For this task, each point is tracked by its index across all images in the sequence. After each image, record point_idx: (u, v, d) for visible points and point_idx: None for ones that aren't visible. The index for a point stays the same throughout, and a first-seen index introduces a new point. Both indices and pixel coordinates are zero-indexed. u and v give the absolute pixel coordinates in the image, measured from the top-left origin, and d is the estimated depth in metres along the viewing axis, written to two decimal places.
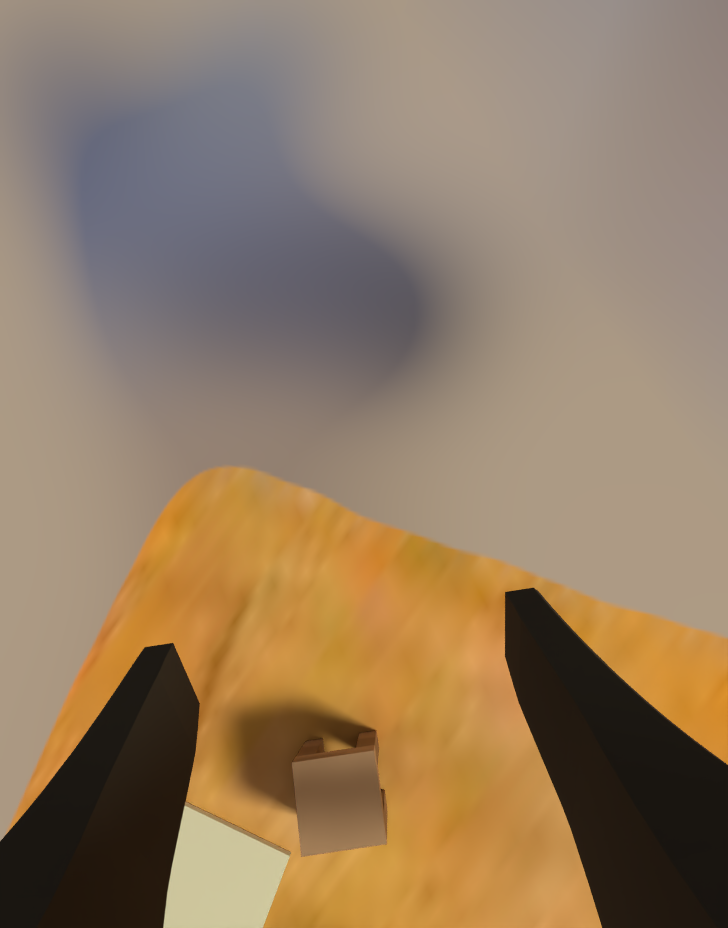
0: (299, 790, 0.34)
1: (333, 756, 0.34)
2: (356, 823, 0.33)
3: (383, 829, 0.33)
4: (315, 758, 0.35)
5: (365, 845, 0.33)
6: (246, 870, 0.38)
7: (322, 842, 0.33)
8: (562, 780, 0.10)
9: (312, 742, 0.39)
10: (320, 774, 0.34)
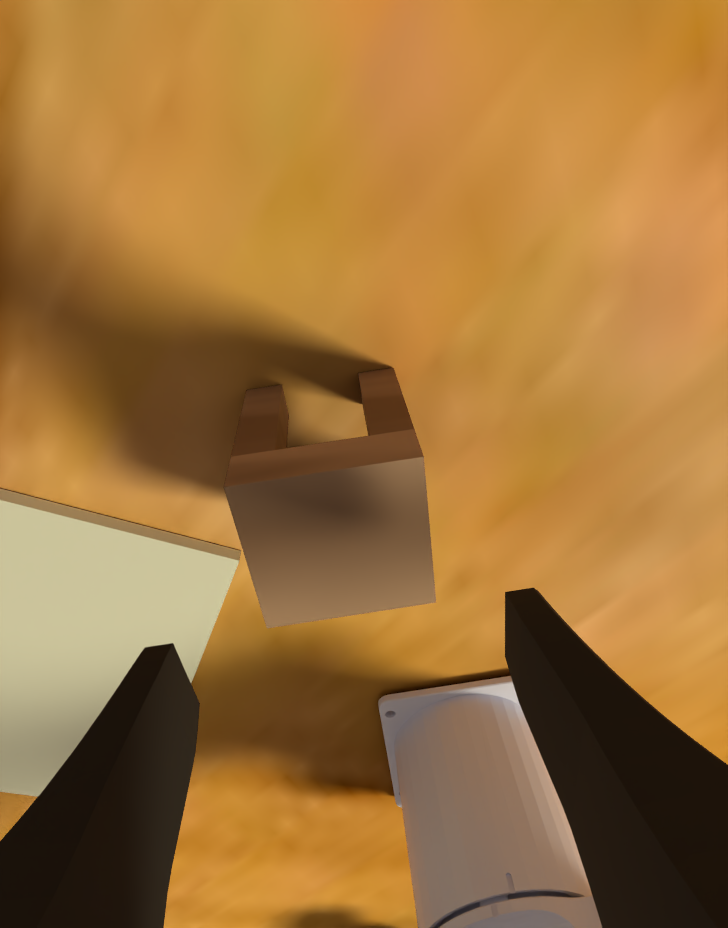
0: (249, 534, 0.15)
1: (324, 470, 0.14)
2: (378, 577, 0.16)
3: (431, 583, 0.16)
4: (279, 471, 0.14)
5: (394, 606, 0.17)
6: (168, 580, 0.22)
7: (307, 607, 0.16)
8: (562, 780, 0.10)
9: (261, 398, 0.18)
10: (296, 505, 0.15)
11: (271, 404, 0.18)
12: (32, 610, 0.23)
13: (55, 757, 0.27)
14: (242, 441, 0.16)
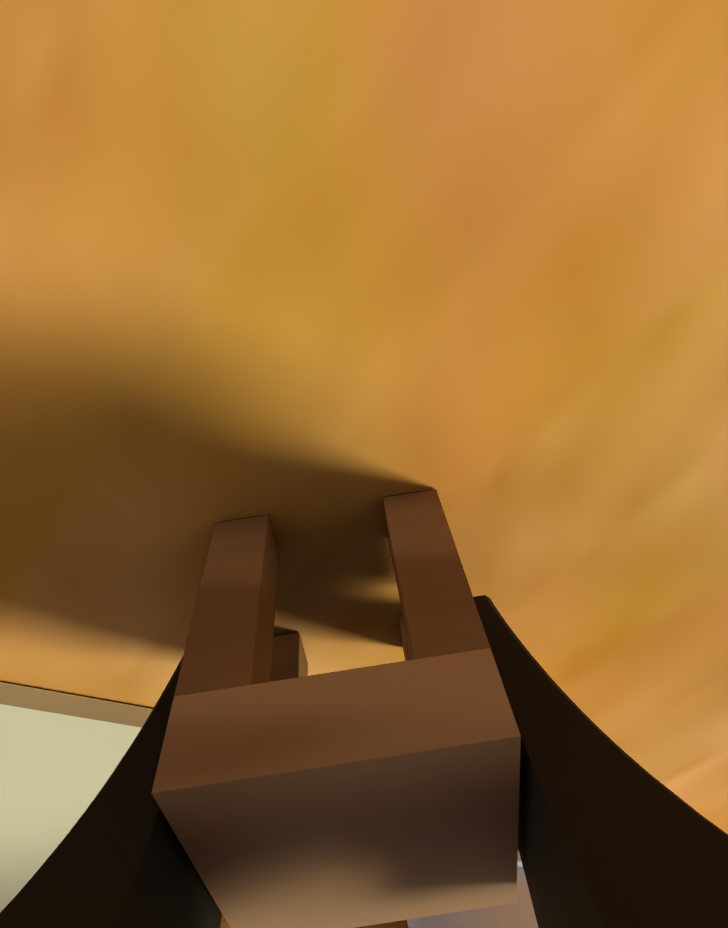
0: (204, 848, 0.08)
1: (338, 756, 0.08)
2: (425, 882, 0.10)
3: (512, 881, 0.10)
4: (256, 753, 0.08)
5: (448, 911, 0.10)
6: (110, 764, 0.16)
7: (307, 920, 0.10)
8: None
9: (236, 544, 0.12)
10: (287, 808, 0.08)
11: (250, 560, 0.11)
12: None
13: None
14: (197, 654, 0.10)
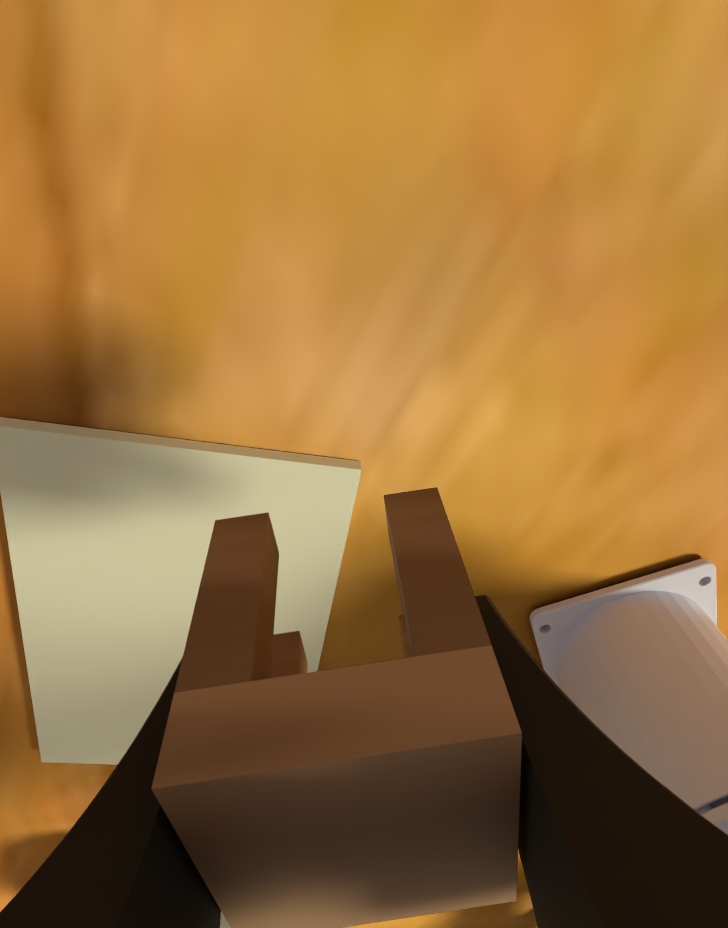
0: (204, 844, 0.08)
1: (338, 753, 0.08)
2: (425, 880, 0.10)
3: (512, 880, 0.10)
4: (257, 749, 0.08)
5: (448, 909, 0.10)
6: (288, 505, 0.21)
7: (306, 918, 0.10)
8: None
9: (236, 541, 0.12)
10: (286, 805, 0.08)
11: (250, 557, 0.11)
12: (155, 561, 0.21)
13: None
14: (197, 650, 0.10)
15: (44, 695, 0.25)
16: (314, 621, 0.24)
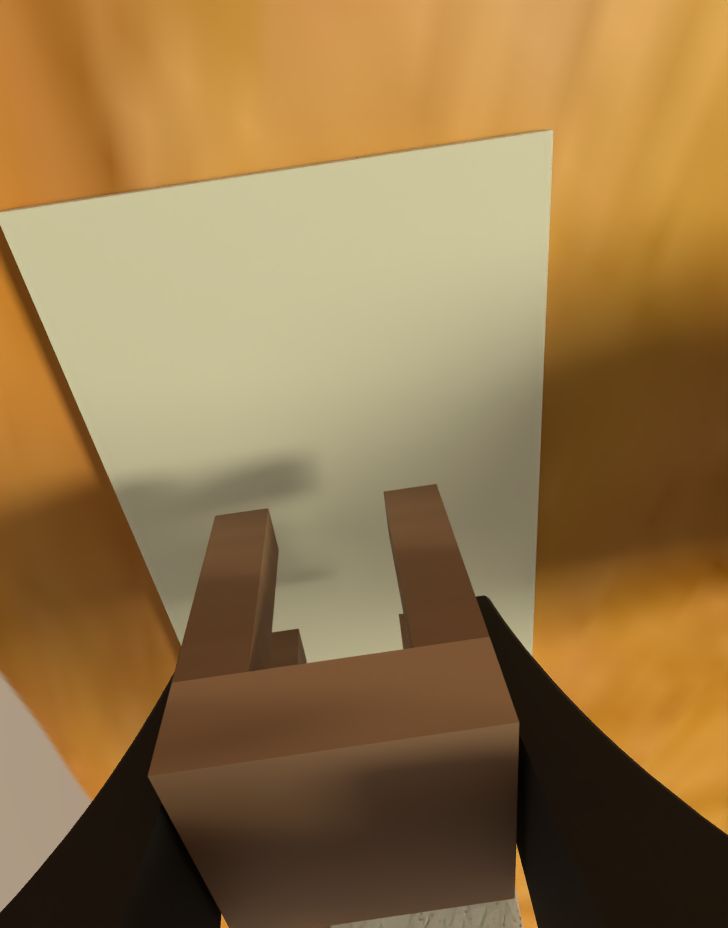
0: (200, 835, 0.08)
1: (335, 741, 0.08)
2: (423, 875, 0.09)
3: (510, 876, 0.10)
4: (253, 737, 0.08)
5: (445, 907, 0.10)
6: (449, 238, 0.13)
7: (303, 914, 0.10)
8: None
9: (236, 536, 0.12)
10: (283, 794, 0.08)
11: (250, 552, 0.12)
12: (280, 393, 0.15)
13: (397, 633, 0.20)
14: (195, 641, 0.10)
15: None
16: (520, 440, 0.16)
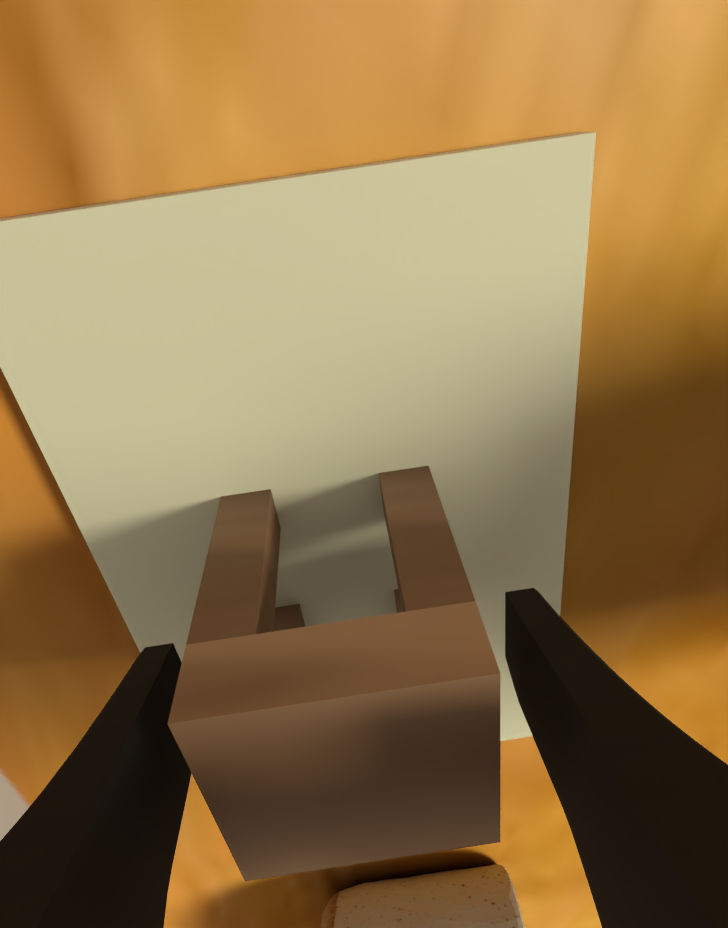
0: (214, 779, 0.09)
1: (335, 692, 0.09)
2: (415, 819, 0.10)
3: (495, 820, 0.11)
4: (262, 689, 0.09)
5: (437, 849, 0.11)
6: (471, 258, 0.11)
7: (306, 856, 0.11)
8: (562, 780, 0.10)
9: (241, 515, 0.13)
10: (289, 741, 0.09)
11: (254, 529, 0.12)
12: (273, 433, 0.13)
13: None
14: (206, 608, 0.10)
15: None
16: (547, 484, 0.14)
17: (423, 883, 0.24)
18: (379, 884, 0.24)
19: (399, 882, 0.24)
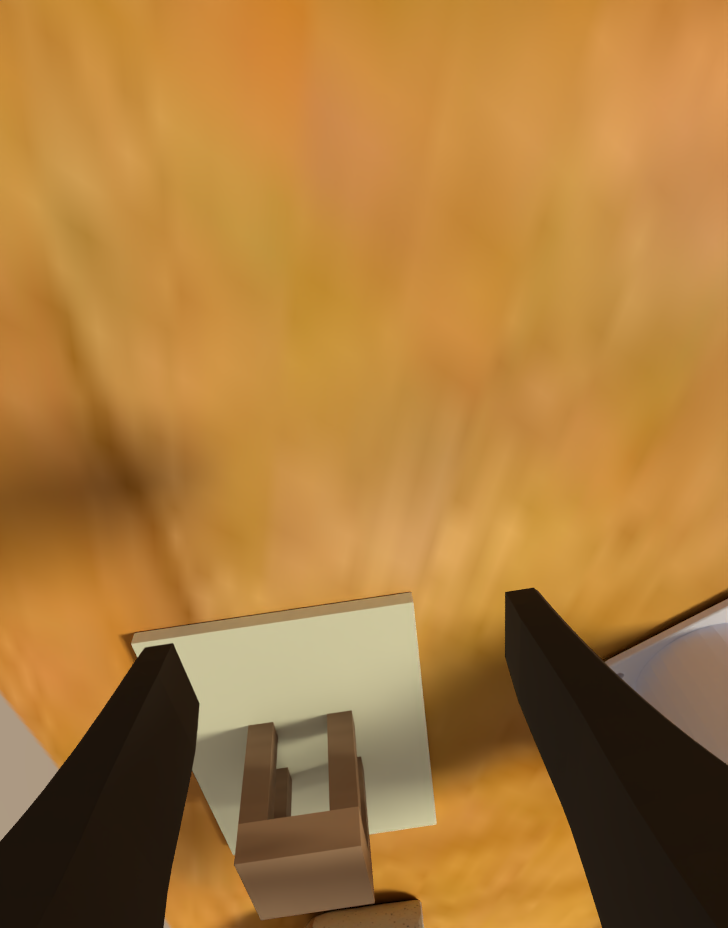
0: (250, 882, 0.23)
1: (298, 851, 0.22)
2: (334, 894, 0.24)
3: (371, 894, 0.25)
4: (270, 849, 0.23)
5: (346, 906, 0.25)
6: (364, 640, 0.25)
7: (288, 910, 0.25)
8: (562, 780, 0.10)
9: (259, 741, 0.27)
10: (280, 869, 0.23)
11: (265, 752, 0.26)
12: (274, 701, 0.27)
13: None
14: (245, 803, 0.24)
15: (221, 808, 0.31)
16: (413, 715, 0.28)
17: (367, 912, 0.38)
18: (340, 912, 0.38)
19: (353, 911, 0.38)
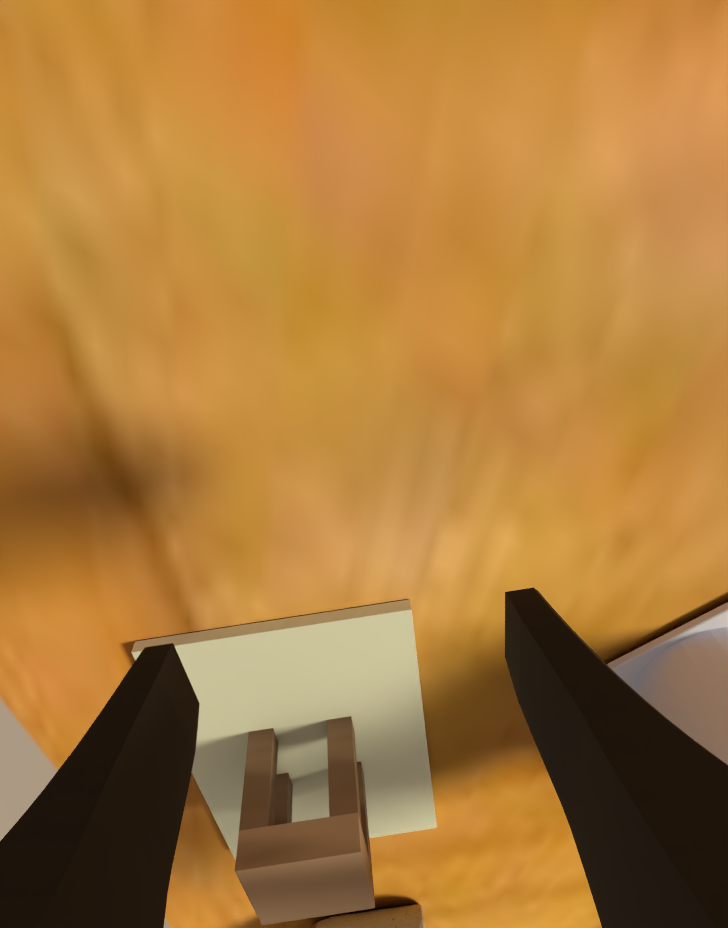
0: (251, 888, 0.23)
1: (298, 858, 0.23)
2: (335, 900, 0.24)
3: (371, 899, 0.25)
4: (270, 856, 0.23)
5: (347, 911, 0.25)
6: (363, 647, 0.25)
7: (289, 915, 0.25)
8: (562, 780, 0.10)
9: (259, 747, 0.27)
10: (281, 875, 0.23)
11: (265, 758, 0.26)
12: (274, 708, 0.27)
13: None
14: (246, 810, 0.24)
15: (222, 813, 0.31)
16: (412, 720, 0.28)
17: (369, 917, 0.38)
18: (342, 917, 0.39)
19: (354, 916, 0.38)
